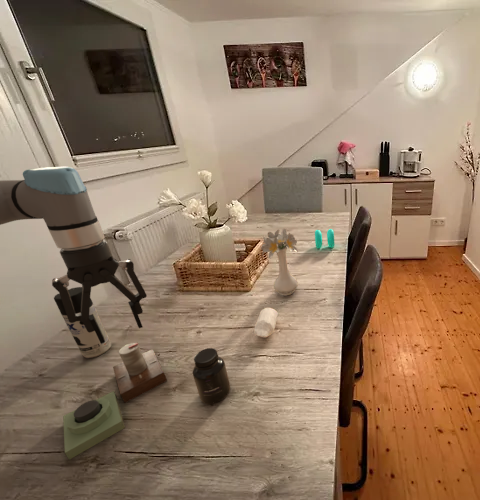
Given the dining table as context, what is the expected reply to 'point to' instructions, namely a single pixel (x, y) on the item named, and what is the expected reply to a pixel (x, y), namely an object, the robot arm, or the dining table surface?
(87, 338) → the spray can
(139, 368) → the dial knob
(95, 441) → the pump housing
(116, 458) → the dining table surface
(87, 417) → the button
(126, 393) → the dial panel
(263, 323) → the roll
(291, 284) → the flower vase
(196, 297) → the dining table surface
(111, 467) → the dining table surface
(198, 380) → the supplement bottle
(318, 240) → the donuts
